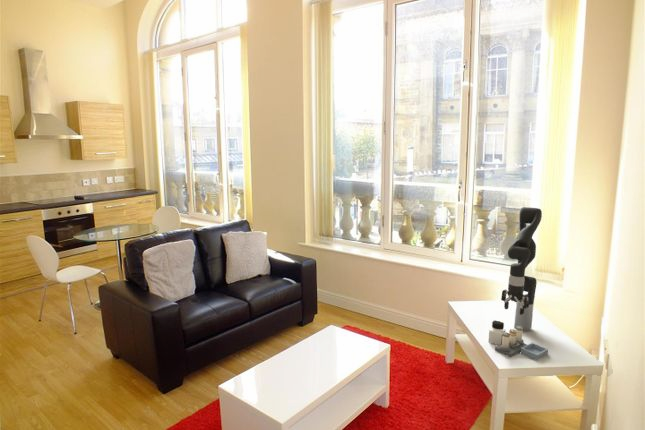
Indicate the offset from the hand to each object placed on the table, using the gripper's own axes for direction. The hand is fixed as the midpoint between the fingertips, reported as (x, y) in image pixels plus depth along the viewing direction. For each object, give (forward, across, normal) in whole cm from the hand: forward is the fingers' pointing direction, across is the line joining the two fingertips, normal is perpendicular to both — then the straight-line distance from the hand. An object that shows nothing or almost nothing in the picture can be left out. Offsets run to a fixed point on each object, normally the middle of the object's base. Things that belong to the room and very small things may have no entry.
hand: (513, 311), depth 222 cm
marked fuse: (+20, 0, 0) cm, 20 cm away
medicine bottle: (+22, +9, -1) cm, 24 cm away
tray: (+22, -10, -5) cm, 25 cm away
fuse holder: (+22, 0, 0) cm, 22 cm away
